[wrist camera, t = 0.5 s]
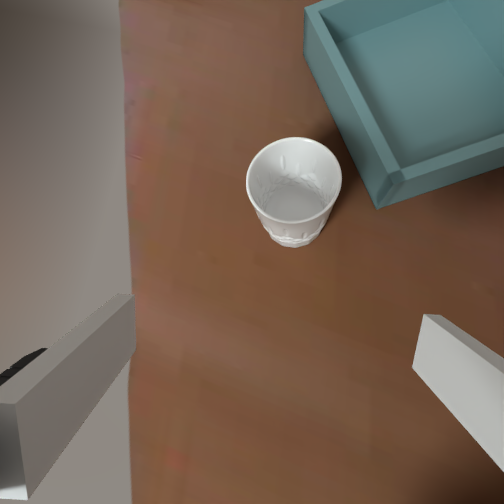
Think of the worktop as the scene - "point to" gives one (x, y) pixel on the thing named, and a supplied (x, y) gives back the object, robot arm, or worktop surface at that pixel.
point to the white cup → (294, 189)
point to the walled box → (411, 88)
